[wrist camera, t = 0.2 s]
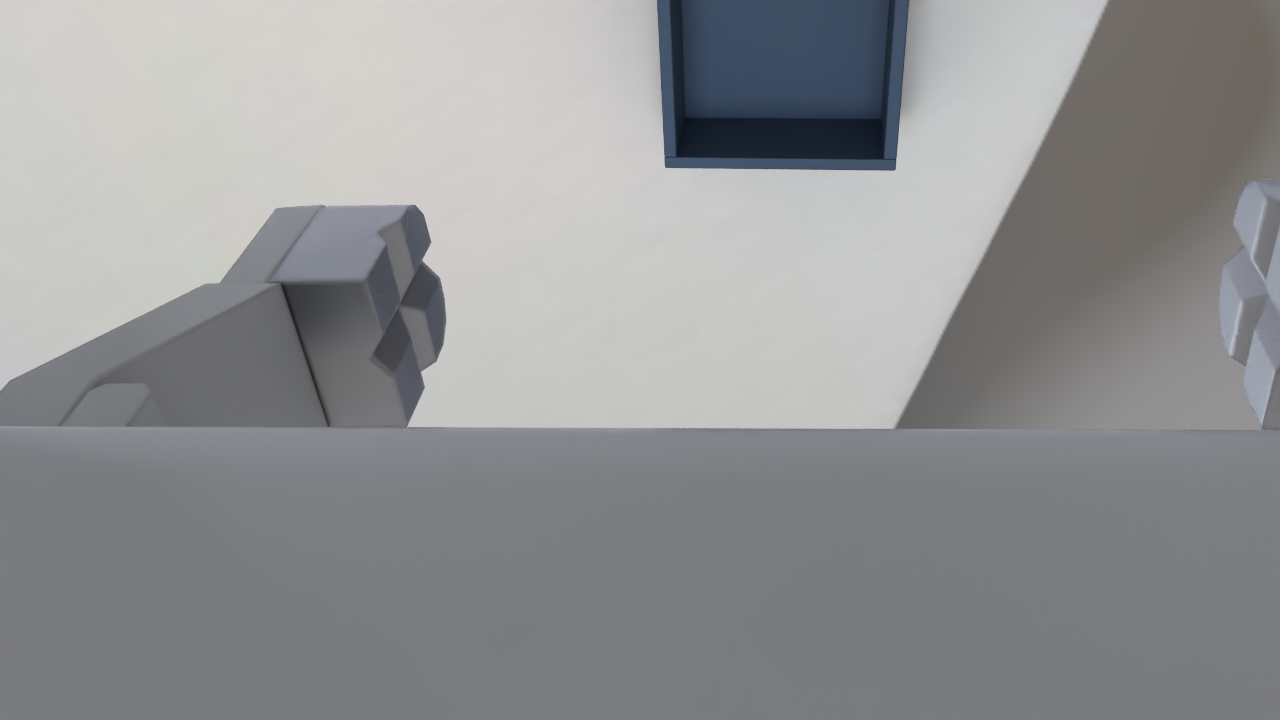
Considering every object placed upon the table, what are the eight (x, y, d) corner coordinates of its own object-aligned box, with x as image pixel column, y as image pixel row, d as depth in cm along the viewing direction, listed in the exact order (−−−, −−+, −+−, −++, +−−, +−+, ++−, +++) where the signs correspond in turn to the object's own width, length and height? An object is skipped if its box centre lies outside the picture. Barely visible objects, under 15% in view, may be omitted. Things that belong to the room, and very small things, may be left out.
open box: (668, -97, 57) (654, -61, 53) (908, -102, 56) (914, -65, 51) (676, 119, 64) (664, 168, 60) (891, 121, 62) (895, 170, 58)
